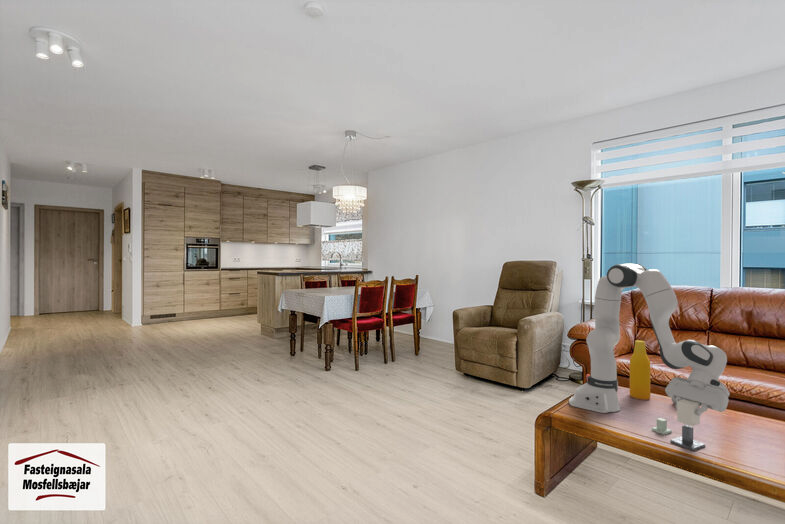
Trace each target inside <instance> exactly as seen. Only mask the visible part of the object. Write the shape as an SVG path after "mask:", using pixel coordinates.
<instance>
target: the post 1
mask: <svg viewBox="0 0 785 524" xmlns="http://www.w3.org/2000/svg"><path fill="white" fill-rule="evenodd" d="M651 431H653V432H655V431H656V433H658V432H659V434H661V435H663V436H665V434H666V435H669V434H671V433H672V429H670V428H668V420H667V419H665V418H662V417H659V418H656V426H653V427H651Z"/></svg>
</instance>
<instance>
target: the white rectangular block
mask: <svg viewBox="0 0 785 524" xmlns="http://www.w3.org/2000/svg"><path fill="white" fill-rule="evenodd" d="M699 408H701V406H700V403H698V402H694V401H691V400H687V399H683V400H679V401H677V409H676V418H677V419H676V421H677V422H678V423H681V424H682V425H683V424H684V425H688V426H691V427H694V426H697V425H700V424H701V421H700V418H701V415H700V416H698V415H695V413H694V411H695V409H699Z"/></svg>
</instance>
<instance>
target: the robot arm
mask: <svg viewBox="0 0 785 524" xmlns="http://www.w3.org/2000/svg"><path fill="white" fill-rule="evenodd" d="M626 288H637V289H639V290H640V292H641V294H642V296H643V298H644V300H645V302H646V305H647V308H648V312H649V320H650V324H651V327H652V330H653V333H654V335H655V337H656V338H655V339H656V341H657V343H658V347H659V354H660V359H661V361H662V362H663V364H664V365H666V366H667V367H669V368H670V369H671V370H681V369H683V368H686V367H690V368H692V370H691V372H690V374H689V376H688V378H683V377H679V376H677V377H672V378H671V380H670V382H669V383H668V384H667V386H665V387H666V388H665V389H664V392H665V394H666V395H667V396H668V397H669V398H671V399H672V398H675V399H676V402H677V401H679V400H683V399H687V400H691V401H694V402H698V403H700V408H699V409H695V411H694V413H695V415H698V416H700V417H701V415H702V413H704V412H705V413H706V412H707V411H708V409H710V410H713V411H716V412H720V413H721V412H725V411H726V410H727V407H728V404H729V397H730V391H729V389H728V388H727V386H726V385H725V383H723V382H721V381H720V380H719V378H720V377H721V376H722V375H723V373H724V371H725V369H726V366H727V363H728V357H727V353H726V352H725V351H724V350H723V349H721V348H720V347H718V346H715V345H707V344H702V343H701V342H698V341H697V340H694V339H686V340H682V341H679V342H676V341H675V338H674V335H673V333H672V329H671V328H670V319H671V317H672V315H673V314H674V312H675V311H676V310H677V307H678V304H679V303H678V298H677V295H676V293H675V291H674V289H673V287H672V286H671V284H670V283H669V281H668V279H667V277H665V276H664V274H663V273H662V272H661V271H660V270H659V269H656V268H655V269H654V268H653V269H647V268H646V267H645V266H644V265H642V264H639V263H631V262H627V263H616V264H614V265H611V267H610V268H609V269H608V270H607V272H606V275H604V276H601V277H600V278H599V279H598V282H597V286H596V289H595V295H594V301H593V302H594V304H593V316H594V325H595V326H594V329H592V330H590V331H589V332H588V334H587V336H586V339H585V340H586V341H585V342H586V344H587V346H588V350H589V351H588V352H589V356H590V357H589V358H590V374H589V373H588V374H586V375H585V378H586V382H585V383H584V384H582V385H580V386H578V387H577V388H576V389H575V390H574V394H573V395H572V396H571V398H570V397H569V400H568V404H569V405H570V406H571V407H575V408H580V409H584V410H589V411H592V412H597V413H601V414H606V413H615V412H619V411H620V410H621V406H620V403H619V396H618V391H619V390H618V389H619V381H618V378H617V377H618V376H617V375H618V374H617V371H618V370H617V368H618V367H617V366H618V365H617V364H618V363H617V361H616V358H615V353H614V352H615V350H614V348H615V346H617V345H618V343H619V342H620V339H621V329H620V328H621V326H620V325H621V324H620V313H621V302H622V293H623V291H624V289H626ZM676 378H677V379H676ZM675 408H676V410H677V404H676V405H675Z"/></svg>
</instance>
